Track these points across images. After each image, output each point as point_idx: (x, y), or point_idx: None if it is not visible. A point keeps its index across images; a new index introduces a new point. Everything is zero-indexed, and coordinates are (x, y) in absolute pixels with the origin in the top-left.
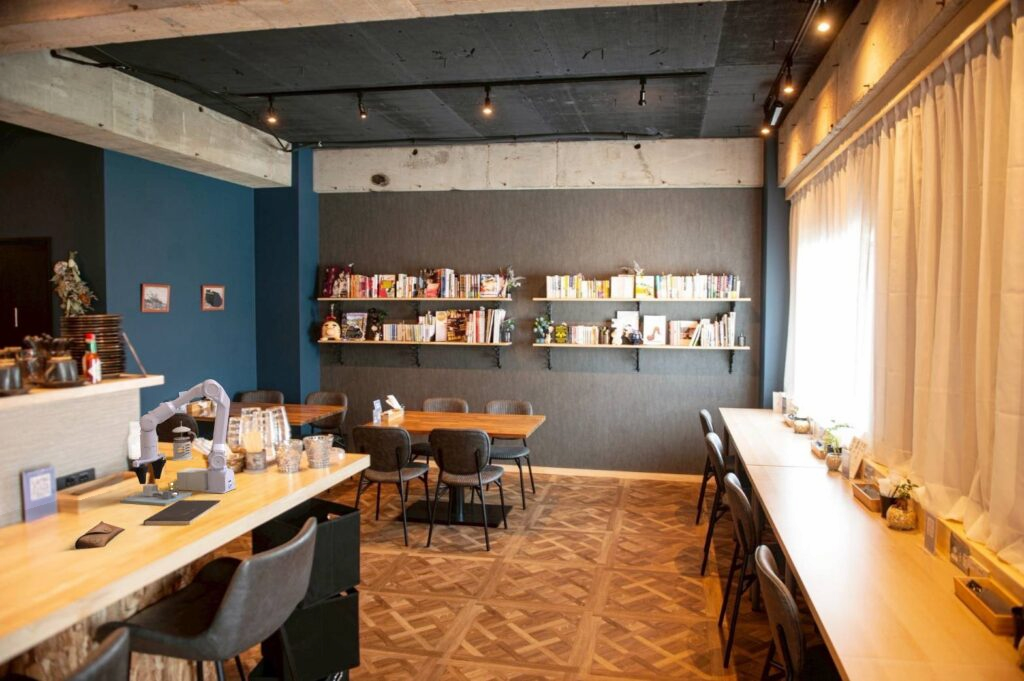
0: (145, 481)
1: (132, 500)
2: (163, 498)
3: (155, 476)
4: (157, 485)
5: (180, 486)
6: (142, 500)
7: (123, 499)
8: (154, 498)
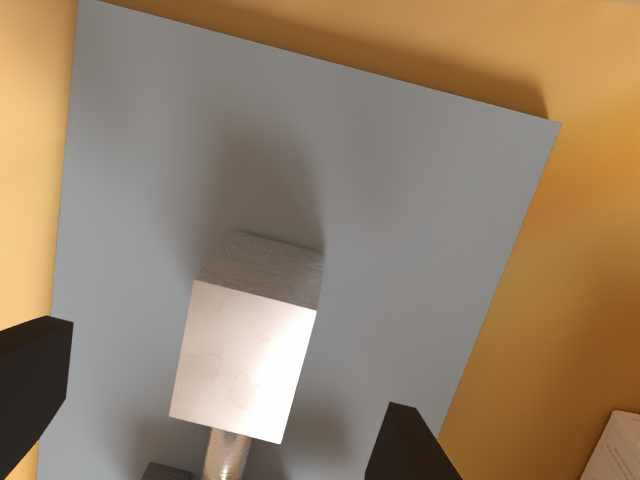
0: (28, 434)
1: (73, 178)
2: (147, 471)
3: (383, 452)
4: (278, 432)
5: (611, 468)
6: (86, 290)
7: (101, 34)
8: (170, 375)
